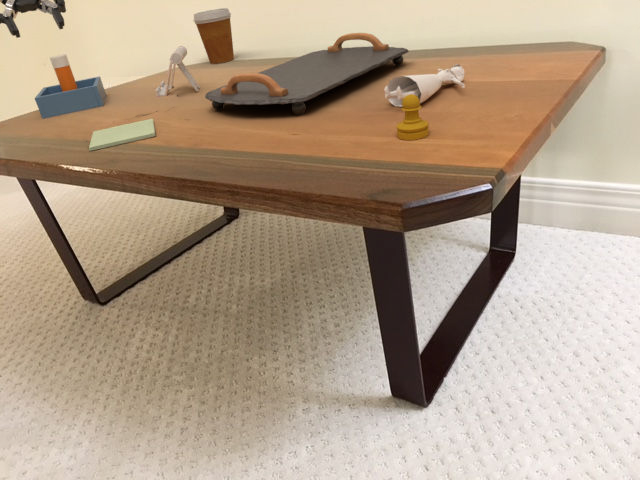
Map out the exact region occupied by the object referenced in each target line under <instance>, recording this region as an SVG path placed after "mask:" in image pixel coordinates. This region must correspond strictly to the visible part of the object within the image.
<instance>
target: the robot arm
mask: <svg viewBox="0 0 640 480" xmlns="http://www.w3.org/2000/svg"><path fill="white" fill-rule="evenodd" d="M0 4H2V5H4V6H5V7H4V10H3V12H2V13H1V12H0V25H1V24H4V25H5V26H6V27H7V29H8V32H9V33H10V35H11V36H12V37H13V36H14V37H16V39H18V38H21V33H20V30H19V28H18V26H17V24H16V22H15V19H16V18H17V16H18V14H19V13H21V14H26V13H28V12H36V11H40V12H42V13H44V14H48V15H51V16H52V19H53V21H54V22H55V24H56V26H57V27H58V29H59V30H64V27H65V26H66V25H65V18H64V16H63V15H62V14H65V13H67V8H66V1H65V0H52V1H51V0H0Z"/></svg>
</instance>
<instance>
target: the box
mask: <svg viewBox="0 0 640 480" xmlns="http://www.w3.org/2000/svg"><path fill="white" fill-rule="evenodd" d="M75 82H76V84H77V87H78V89H75V90H70V91H65V92H62V89H61V86H60V84H59V83H58V84H55V85H50V86H44V87H42V88H41V90H40V91H39V92H38V94H37V95H36V96H34V101H35V103H36V106H37V108H38V111H39V113H40V116H41V118H42V120H43V119H44V120H45V119H48V118H54V117H59V116H63V115H68V114H73V113H78V112H82V111H87V110H91V109H92V110H93V109H96V108H101V107H104V106H105V102H106V98H107V94H106V90H105V87H104V84H103V81H102V77H101V76H95V77H89V78H85V79H79V80H75Z"/></svg>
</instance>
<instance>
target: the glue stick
mask: <svg viewBox="0 0 640 480" xmlns="http://www.w3.org/2000/svg"><path fill="white" fill-rule="evenodd" d="M49 60H50V62H51V65H52V68H53V71H54V73H55V75H56V79H57V81H58V85H59V84H60V86H61V89H62V92H65V91H70V90H75V89H78V87H77V84H76V82H75V81H76V78H75V76H74V73H73V70H72V68H71V65H70V62H69V59H68V56H67V54H57V55H54V56H50V57H49Z"/></svg>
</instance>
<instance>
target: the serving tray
mask: <svg viewBox="0 0 640 480" xmlns="http://www.w3.org/2000/svg"><path fill="white" fill-rule="evenodd" d="M358 40H359V41H365V42H368V43H370V44H371V45H372V46H371V45H370V46H354V47H343V43H345V42H348V41H358ZM409 52H410V51H409V49H408V48H405V47H394V46H389V44H386V43H382V41H381V40H380V39H379V38H378V37H377V36H375V35H374V34H371V33H367V32H351V33H346V34H343V35H340V36H339V37H338V38H337V39H336V41H335V42H334V43H333V45H329V46H328V47H327V49H321V50H317V51H311V52H309V53H306V54H303V55H301V56H298V57H296V58H293V59H291V60H287V61H285V62H283V63H281V64H278V65H277V64H276V65H275V66H271V67H270V68H267V69H264V70H262V71H259V72H243V73H240V74H236V75H234V76H232V77H231V78H230V79H229V81H228V82H227V84H226V85H223V86H220V87H218V88H215V89H213V90H210V91H208V92H206V93H205V95H204V96H205V97H204V98H205V99H206V100H208V101H210V102H211V106H212V108H213V109H214V110H215V112H219V111H222V110H223V111H224V108H225V104H229V105H236V106H237V105H238V106H245V105H246V106H250V105H251V106H253V105H256V106H264V105H287V104H292V105H291V111H292V113H293V114H294V115H295V116H297V117H300V116H303V115H305V112H306V110H307V106H306V103H304V102H307V101H310V100H312V99H313V98H316V97H318V96H320V95H322V94H324V93H326V92H329V91H330V90H332V89H335V88H337V87H339V86H341V85H344V84H345V83H347V82H349V81H350V80H353V79H355V78H358V77H361V76H363V75H364V74H367V73H368V72H371V71H372V70H374V69H377V68H379V67H381V66H384V65H386V64H387V63H389V62H391V61H392V64H393V66H394V67H400V66H402V65H403V64H404V55H405V54H407V53H409Z"/></svg>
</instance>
